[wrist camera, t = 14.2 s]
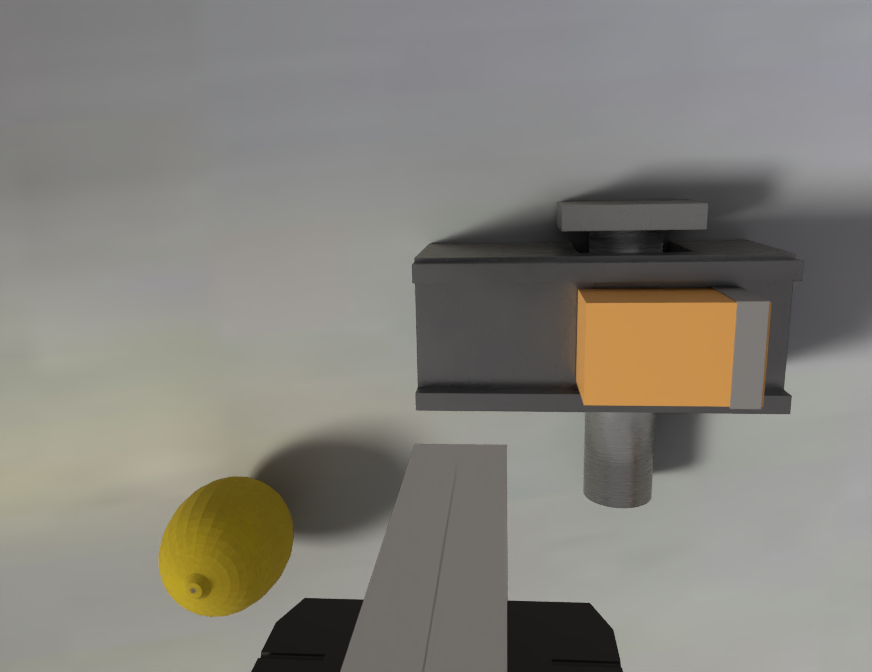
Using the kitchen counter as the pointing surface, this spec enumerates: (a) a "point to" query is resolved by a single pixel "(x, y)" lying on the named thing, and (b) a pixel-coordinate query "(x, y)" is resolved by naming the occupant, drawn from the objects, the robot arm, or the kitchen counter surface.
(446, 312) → the block
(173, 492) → the kitchen counter surface
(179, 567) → the lemon
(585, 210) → the pin
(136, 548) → the kitchen counter surface
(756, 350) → the block
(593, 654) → the robot arm
